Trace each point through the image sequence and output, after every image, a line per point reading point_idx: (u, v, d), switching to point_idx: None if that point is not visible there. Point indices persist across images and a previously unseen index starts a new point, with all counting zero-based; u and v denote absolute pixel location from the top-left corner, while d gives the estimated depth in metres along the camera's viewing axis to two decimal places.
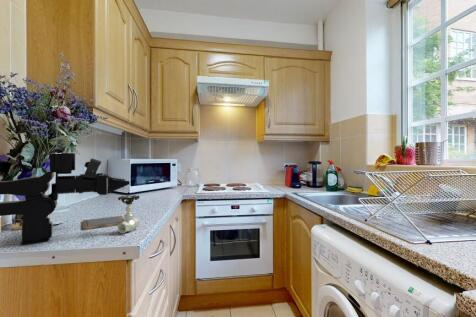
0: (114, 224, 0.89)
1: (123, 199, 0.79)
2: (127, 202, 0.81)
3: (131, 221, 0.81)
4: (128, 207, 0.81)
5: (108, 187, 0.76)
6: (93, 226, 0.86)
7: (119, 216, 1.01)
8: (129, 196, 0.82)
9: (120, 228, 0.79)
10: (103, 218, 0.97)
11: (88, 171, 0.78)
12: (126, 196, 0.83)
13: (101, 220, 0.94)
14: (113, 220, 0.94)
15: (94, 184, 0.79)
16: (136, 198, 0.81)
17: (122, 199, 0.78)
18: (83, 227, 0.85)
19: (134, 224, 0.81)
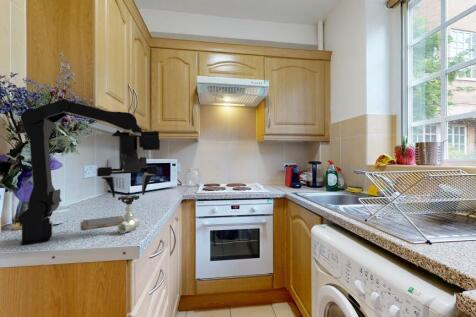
0: (114, 224, 0.89)
1: (123, 199, 0.79)
2: (127, 202, 0.81)
3: (131, 221, 0.81)
4: (128, 207, 0.81)
5: (101, 177, 0.78)
6: (93, 226, 0.86)
7: (119, 216, 1.01)
8: (129, 196, 0.82)
9: (120, 228, 0.79)
10: (103, 218, 0.97)
11: (122, 160, 0.77)
12: (126, 196, 0.83)
13: (101, 220, 0.94)
14: (113, 220, 0.94)
15: (119, 165, 0.80)
16: (136, 198, 0.81)
17: (122, 199, 0.78)
18: (83, 227, 0.85)
19: (134, 224, 0.81)
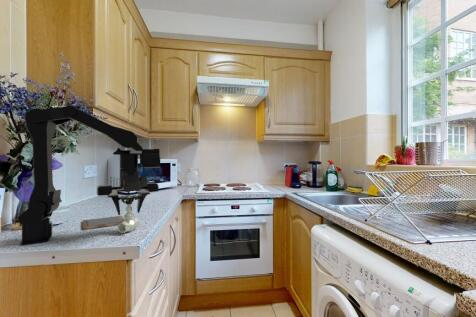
0: (114, 224, 0.89)
1: (123, 199, 0.79)
2: (127, 202, 0.81)
3: (131, 221, 0.81)
4: (128, 207, 0.81)
5: (107, 195, 0.79)
6: (93, 226, 0.86)
7: (119, 216, 1.01)
8: (129, 196, 0.82)
9: (120, 228, 0.79)
10: (103, 218, 0.97)
11: (123, 179, 0.77)
12: (126, 196, 0.83)
13: (101, 220, 0.94)
14: (113, 220, 0.94)
15: None
16: (136, 198, 0.81)
17: (122, 199, 0.78)
18: (83, 227, 0.85)
19: (134, 224, 0.81)
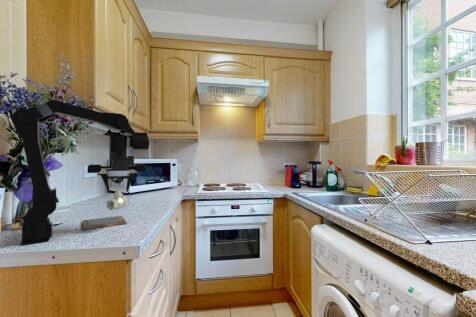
0: (114, 224, 0.89)
1: (112, 177, 0.83)
2: (116, 181, 0.85)
3: (120, 199, 0.85)
4: (117, 186, 0.86)
5: (97, 174, 0.84)
6: (93, 226, 0.86)
7: (119, 216, 1.01)
8: None
9: (109, 205, 0.84)
10: (103, 218, 0.97)
11: (111, 158, 0.82)
12: (116, 176, 0.87)
13: (101, 220, 0.94)
14: (113, 220, 0.94)
15: None
16: (124, 177, 0.85)
17: (111, 177, 0.83)
18: (83, 227, 0.85)
19: (122, 202, 0.86)
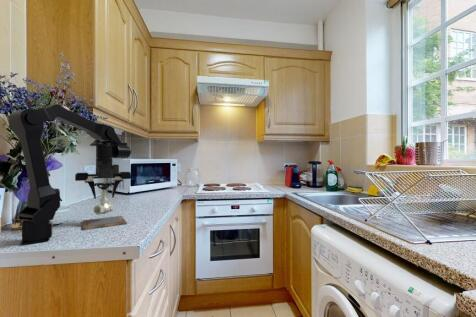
0: (114, 224, 0.89)
1: (98, 184, 0.90)
2: (102, 187, 0.92)
3: (106, 204, 0.92)
4: (103, 192, 0.93)
5: (84, 181, 0.90)
6: (93, 226, 0.86)
7: (119, 216, 1.01)
8: None
9: (96, 210, 0.91)
10: (103, 218, 0.97)
11: (97, 167, 0.89)
12: (102, 183, 0.94)
13: (101, 220, 0.94)
14: (113, 220, 0.94)
15: None
16: (110, 184, 0.92)
17: (97, 184, 0.90)
18: (83, 227, 0.85)
19: (108, 207, 0.93)
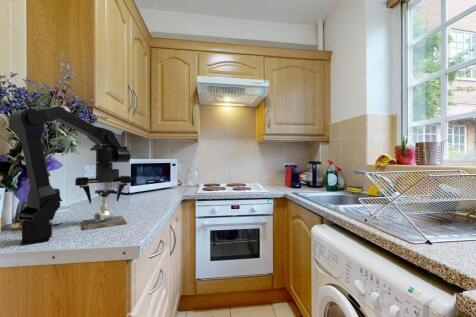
0: (114, 224, 0.89)
1: (99, 192, 0.90)
2: (103, 195, 0.92)
3: (106, 212, 0.92)
4: (104, 199, 0.93)
5: None
6: (93, 226, 0.86)
7: (119, 216, 1.01)
8: (105, 190, 0.93)
9: (96, 217, 0.91)
10: None
11: (98, 172, 0.89)
12: (103, 190, 0.94)
13: None
14: (113, 220, 0.94)
15: None
16: (111, 192, 0.92)
17: (98, 192, 0.90)
18: (83, 227, 0.85)
19: (108, 214, 0.93)
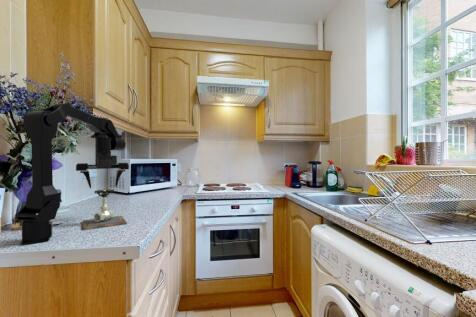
0: (114, 224, 0.89)
1: (98, 192, 0.90)
2: (102, 195, 0.92)
3: (106, 212, 0.92)
4: (103, 199, 0.93)
5: None
6: (93, 226, 0.86)
7: (119, 216, 1.01)
8: (104, 190, 0.93)
9: (96, 217, 0.91)
10: None
11: (97, 158, 0.94)
12: (102, 190, 0.94)
13: None
14: (113, 220, 0.94)
15: None
16: (110, 191, 0.92)
17: (97, 192, 0.90)
18: (83, 227, 0.85)
19: (108, 214, 0.93)
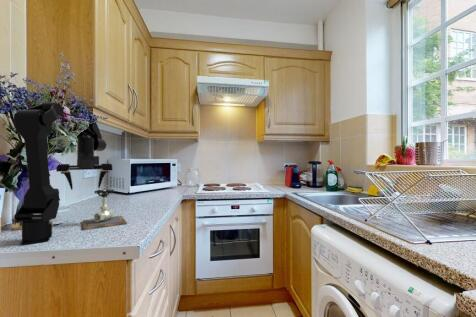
0: (114, 224, 0.89)
1: (98, 192, 0.90)
2: (102, 195, 0.92)
3: (106, 212, 0.92)
4: (103, 199, 0.93)
5: None
6: (93, 226, 0.86)
7: (119, 216, 1.01)
8: (104, 190, 0.93)
9: (96, 217, 0.91)
10: None
11: (78, 158, 0.92)
12: (102, 190, 0.94)
13: None
14: (113, 220, 0.94)
15: None
16: (110, 191, 0.92)
17: (97, 192, 0.90)
18: (83, 227, 0.85)
19: (108, 214, 0.93)
